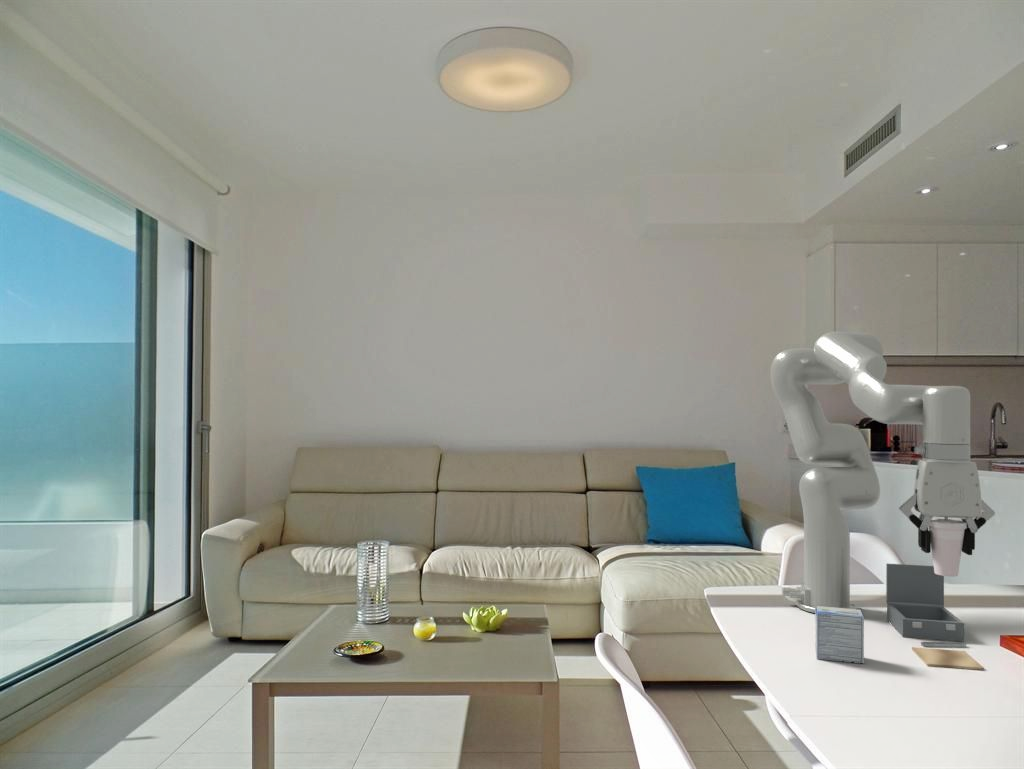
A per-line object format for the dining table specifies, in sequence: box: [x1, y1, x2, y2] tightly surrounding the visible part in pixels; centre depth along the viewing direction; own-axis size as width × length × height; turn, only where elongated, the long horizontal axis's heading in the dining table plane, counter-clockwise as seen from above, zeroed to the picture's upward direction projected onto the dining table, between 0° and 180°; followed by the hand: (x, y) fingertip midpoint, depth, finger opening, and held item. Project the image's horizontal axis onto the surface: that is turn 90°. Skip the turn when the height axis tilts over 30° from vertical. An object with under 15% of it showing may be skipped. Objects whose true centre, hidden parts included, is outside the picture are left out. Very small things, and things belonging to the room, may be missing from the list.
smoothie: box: [928, 517, 967, 578], centre depth 137 cm, size 6×6×14 cm
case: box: [885, 563, 965, 642], centre depth 154 cm, size 11×13×12 cm
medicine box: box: [814, 606, 865, 665], centre depth 137 cm, size 8×4×9 cm, turn 71°
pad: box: [911, 646, 985, 671], centre depth 137 cm, size 9×9×1 cm
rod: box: [920, 641, 967, 649], centre depth 144 cm, size 8×1×1 cm, turn 89°
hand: (946, 551), depth 137 cm, fingers closed on smoothie, 6 cm apart
